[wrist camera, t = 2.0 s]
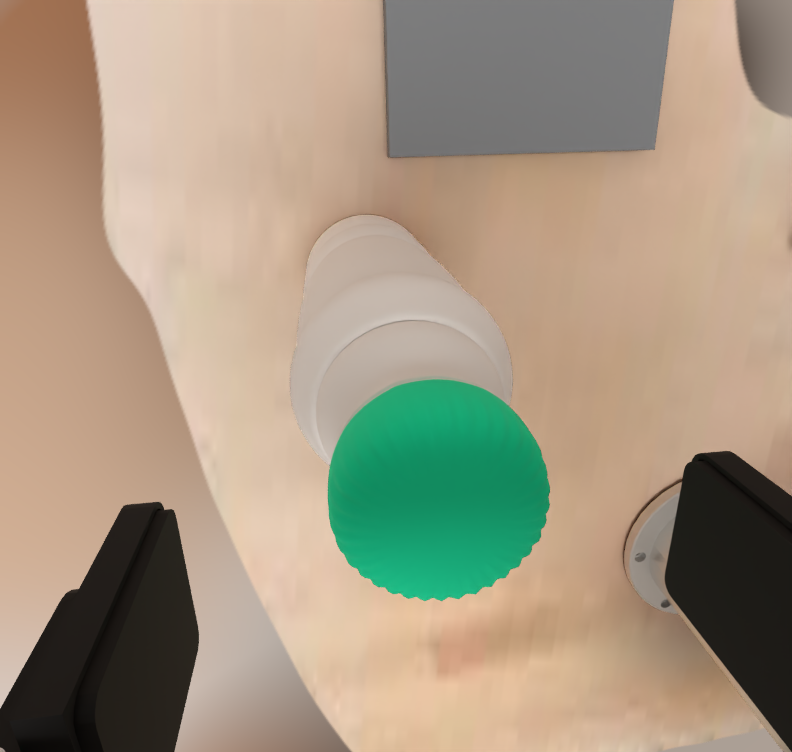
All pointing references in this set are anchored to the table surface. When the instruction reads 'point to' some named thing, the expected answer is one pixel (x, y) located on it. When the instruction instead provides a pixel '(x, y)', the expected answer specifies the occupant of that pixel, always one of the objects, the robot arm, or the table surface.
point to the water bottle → (412, 416)
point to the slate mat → (523, 75)
